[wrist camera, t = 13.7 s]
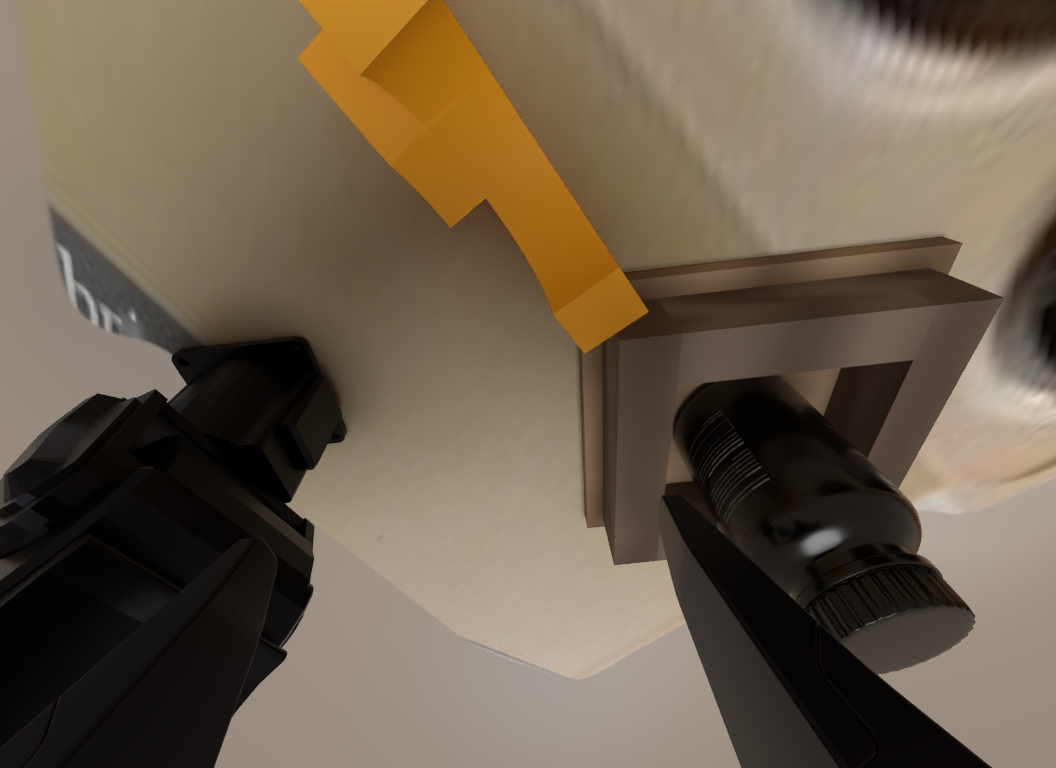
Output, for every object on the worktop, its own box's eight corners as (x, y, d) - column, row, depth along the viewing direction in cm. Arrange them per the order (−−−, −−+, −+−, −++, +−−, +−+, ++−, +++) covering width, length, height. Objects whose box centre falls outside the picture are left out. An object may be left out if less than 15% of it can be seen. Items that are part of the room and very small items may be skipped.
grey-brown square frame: (585, 515, 30) (597, 576, 26) (576, 278, 20) (594, 320, 16) (833, 489, 30) (881, 547, 26) (943, 236, 20) (1045, 270, 16)
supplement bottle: (700, 479, 27) (818, 707, 17) (650, 410, 24) (760, 643, 14) (811, 426, 25) (1019, 649, 15) (773, 342, 22) (1008, 558, 12)
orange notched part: (332, 64, 16) (243, 50, 10) (419, -36, 14) (370, -112, 9) (533, 307, 21) (544, 380, 16) (608, 252, 20) (648, 311, 14)
